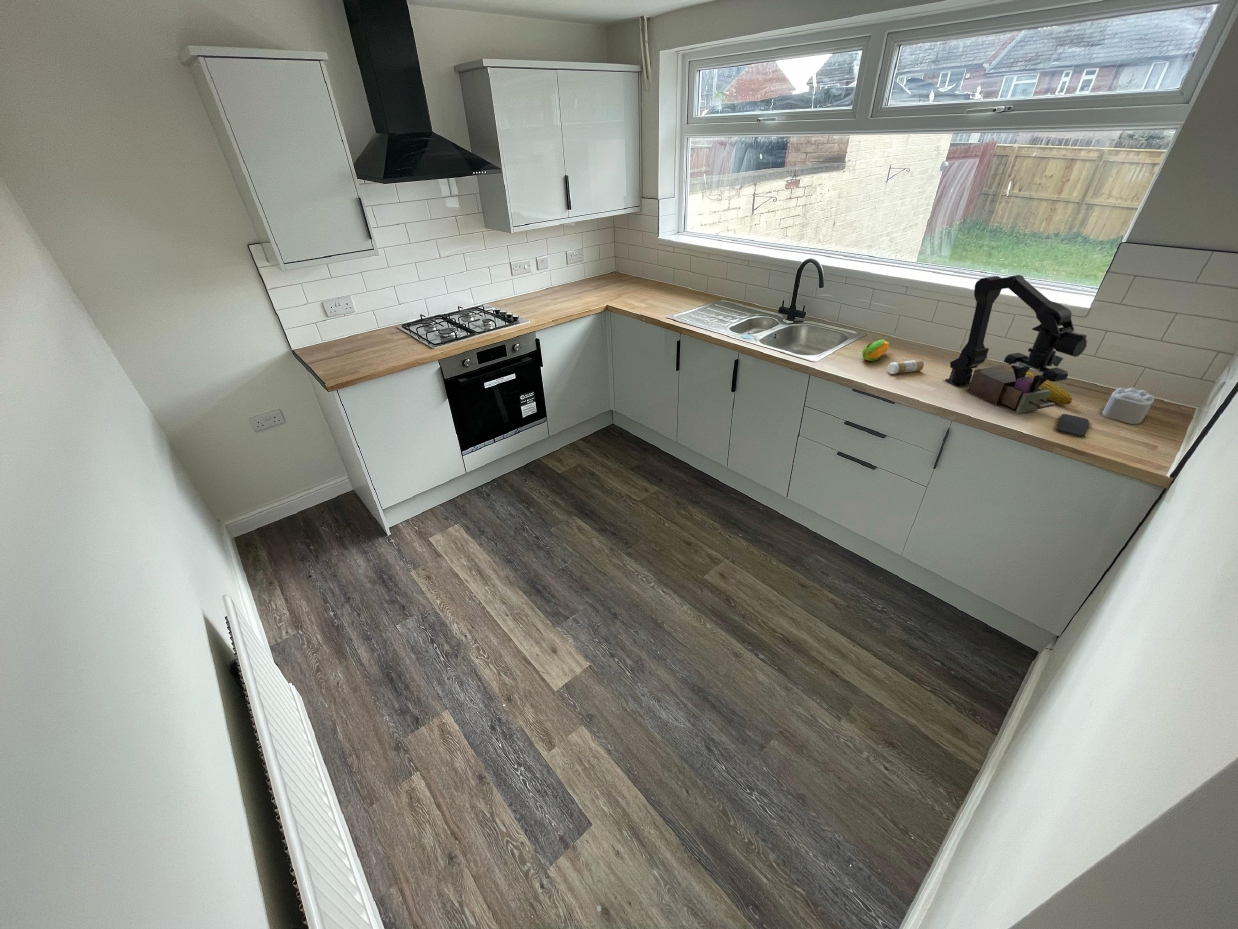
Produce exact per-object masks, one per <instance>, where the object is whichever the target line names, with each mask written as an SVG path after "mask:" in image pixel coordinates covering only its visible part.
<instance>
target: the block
mask: <svg viewBox="0 0 1238 929" xmlns="http://www.w3.org/2000/svg"><path fill="white" fill-rule="evenodd" d="M1033 379H1034V378H1031V377H1029V376H1027V377H1021V378H1017V381H1016V383H1015V385H1014V388H1015V389H1017V390H1020V391H1022V392H1023V394H1025V393H1030V390H1031V386H1032V383H1033ZM1037 390H1038V389H1037ZM1037 390H1036V391H1037ZM1036 391H1035V392H1036ZM1023 394H1022V395H1023Z"/></svg>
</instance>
